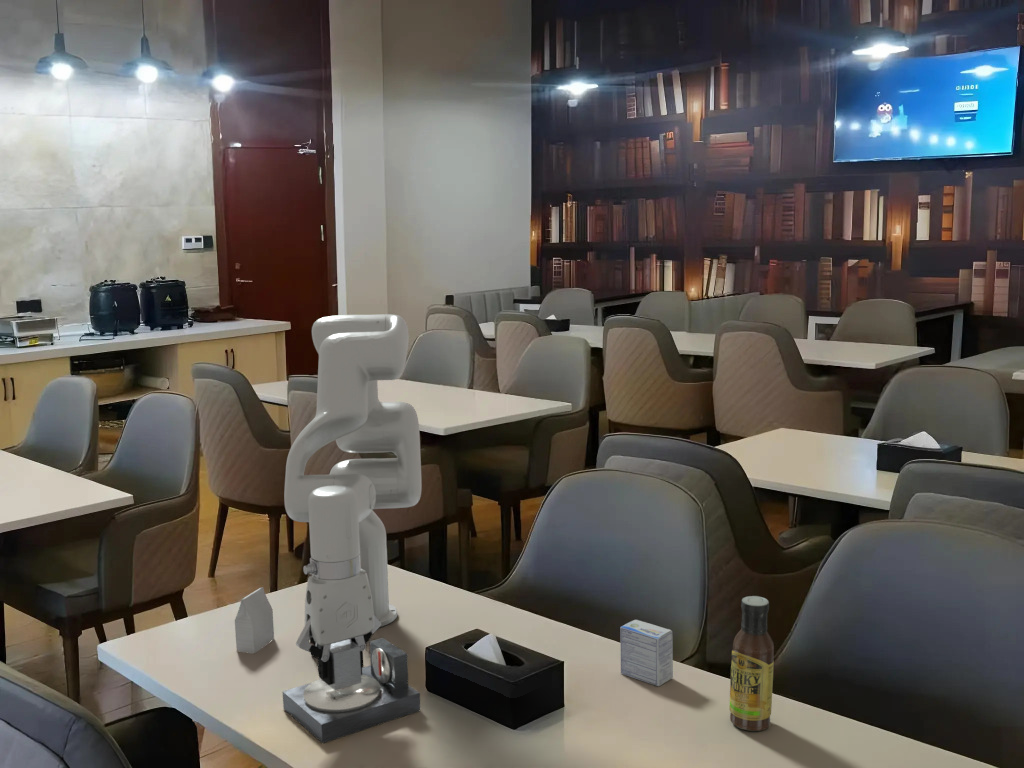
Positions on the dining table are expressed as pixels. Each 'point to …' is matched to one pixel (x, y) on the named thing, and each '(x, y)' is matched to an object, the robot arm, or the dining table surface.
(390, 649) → the dial scale
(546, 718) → the dining table surface
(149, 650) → the dining table surface
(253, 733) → the dining table surface
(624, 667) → the medicine box
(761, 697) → the sauce bottle
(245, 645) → the grey house-shaped block
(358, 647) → the light grey rectangular block
